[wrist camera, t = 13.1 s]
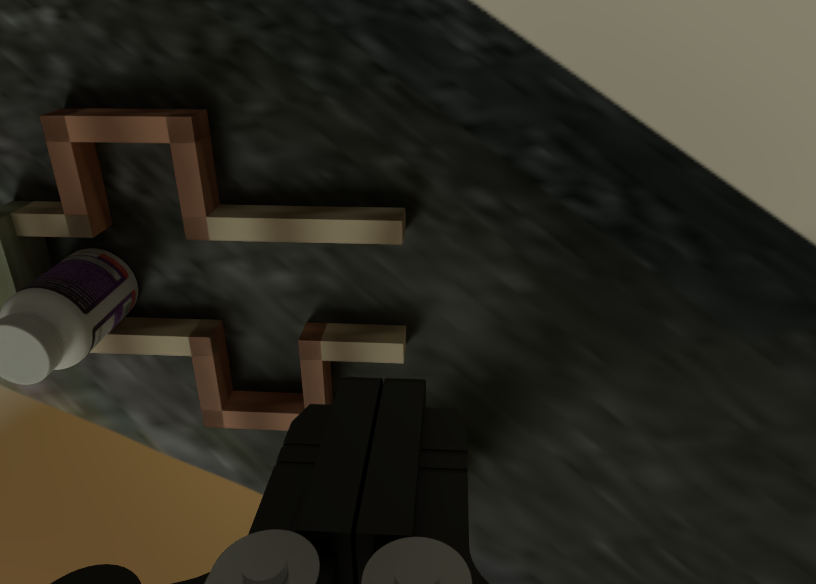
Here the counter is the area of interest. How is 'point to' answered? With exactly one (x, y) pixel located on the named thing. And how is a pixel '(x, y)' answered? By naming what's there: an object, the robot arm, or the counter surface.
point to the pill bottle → (64, 314)
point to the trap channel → (203, 220)
